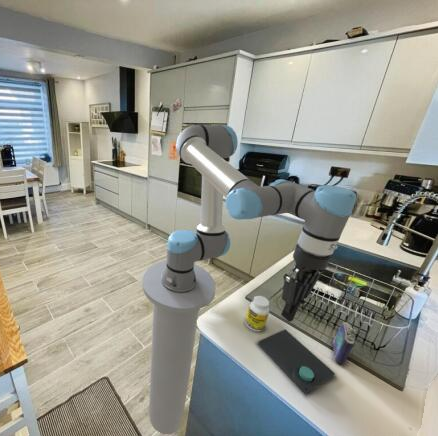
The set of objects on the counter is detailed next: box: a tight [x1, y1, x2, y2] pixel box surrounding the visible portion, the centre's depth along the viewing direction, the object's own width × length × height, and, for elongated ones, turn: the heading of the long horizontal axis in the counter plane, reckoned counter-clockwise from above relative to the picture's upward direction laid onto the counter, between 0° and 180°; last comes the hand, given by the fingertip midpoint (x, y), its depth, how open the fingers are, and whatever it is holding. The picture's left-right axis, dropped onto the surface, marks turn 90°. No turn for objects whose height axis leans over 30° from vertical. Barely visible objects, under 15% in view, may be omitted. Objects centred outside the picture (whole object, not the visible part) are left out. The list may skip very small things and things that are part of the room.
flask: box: [332, 321, 357, 366], centre depth 72 cm, size 9×3×11 cm, turn 148°
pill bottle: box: [244, 295, 270, 332], centre depth 81 cm, size 6×6×11 cm
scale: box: [257, 329, 336, 395], centre depth 71 cm, size 16×13×3 cm
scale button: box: [299, 366, 314, 382], centre depth 65 cm, size 3×3×2 cm
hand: (286, 317), depth 69 cm, fingers closed
